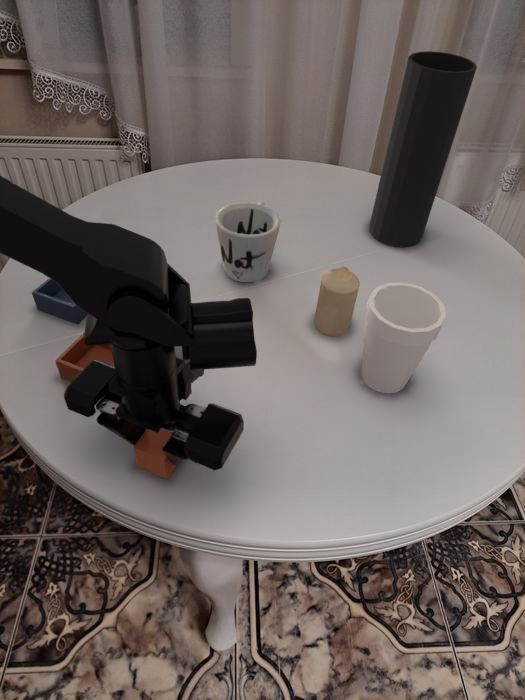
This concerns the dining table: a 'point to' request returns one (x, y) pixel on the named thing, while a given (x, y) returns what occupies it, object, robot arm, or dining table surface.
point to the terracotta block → (153, 453)
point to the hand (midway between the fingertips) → (160, 455)
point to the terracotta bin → (81, 357)
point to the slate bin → (57, 302)
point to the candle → (336, 301)
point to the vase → (419, 144)
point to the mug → (247, 239)
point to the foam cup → (398, 333)
